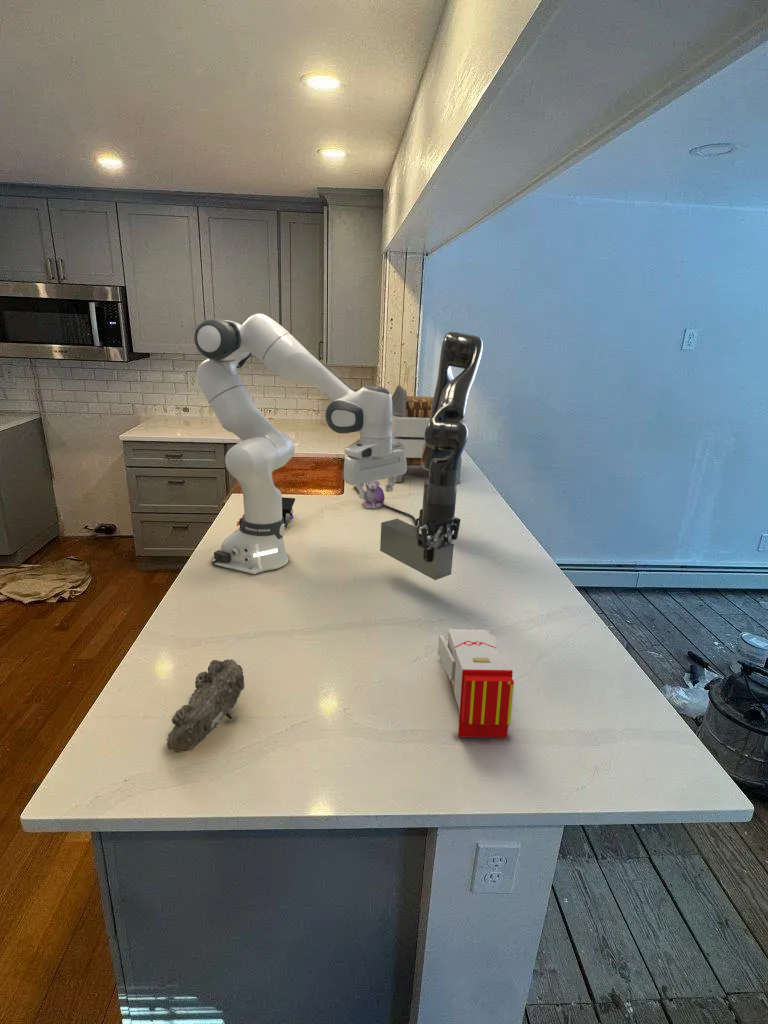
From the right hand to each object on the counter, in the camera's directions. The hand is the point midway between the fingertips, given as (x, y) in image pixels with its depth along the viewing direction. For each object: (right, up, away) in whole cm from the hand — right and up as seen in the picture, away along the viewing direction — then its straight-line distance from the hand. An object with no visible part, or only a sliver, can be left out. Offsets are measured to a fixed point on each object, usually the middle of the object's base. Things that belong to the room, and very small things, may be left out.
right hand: (436, 558), depth 151 cm
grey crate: (+3, +31, +124) cm, 128 cm away
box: (-5, -2, +8) cm, 10 cm away
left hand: (-16, +17, +9) cm, 25 cm away
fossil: (-47, -27, -43) cm, 69 cm away
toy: (+4, -25, -32) cm, 41 cm away
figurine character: (-50, +8, +54) cm, 74 cm away
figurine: (-18, +15, +76) cm, 80 cm away
